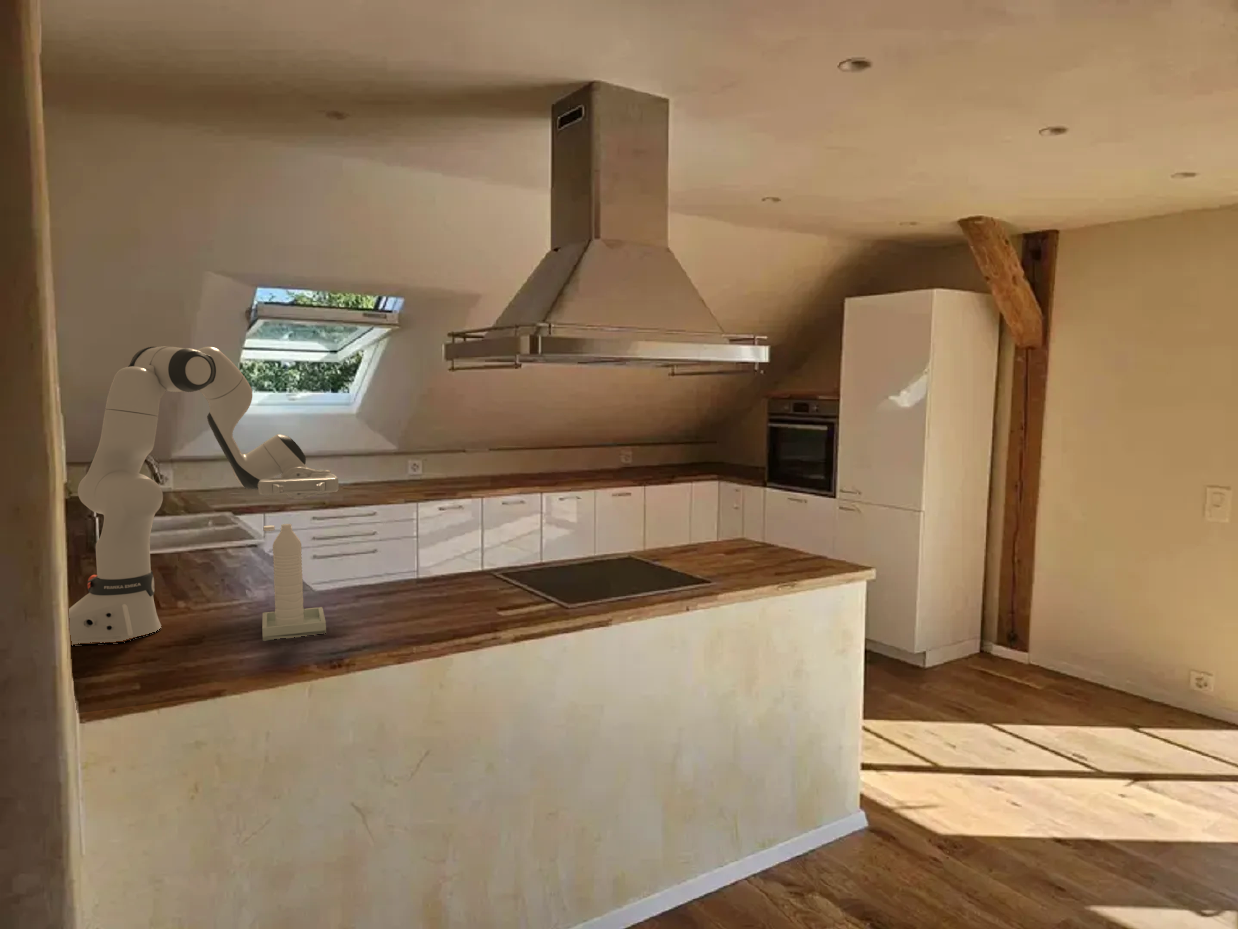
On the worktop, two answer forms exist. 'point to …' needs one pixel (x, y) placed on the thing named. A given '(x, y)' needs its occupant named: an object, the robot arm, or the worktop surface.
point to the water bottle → (287, 576)
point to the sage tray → (294, 625)
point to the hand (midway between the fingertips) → (299, 489)
